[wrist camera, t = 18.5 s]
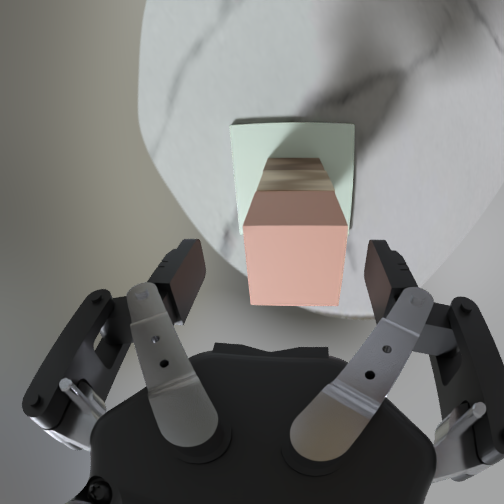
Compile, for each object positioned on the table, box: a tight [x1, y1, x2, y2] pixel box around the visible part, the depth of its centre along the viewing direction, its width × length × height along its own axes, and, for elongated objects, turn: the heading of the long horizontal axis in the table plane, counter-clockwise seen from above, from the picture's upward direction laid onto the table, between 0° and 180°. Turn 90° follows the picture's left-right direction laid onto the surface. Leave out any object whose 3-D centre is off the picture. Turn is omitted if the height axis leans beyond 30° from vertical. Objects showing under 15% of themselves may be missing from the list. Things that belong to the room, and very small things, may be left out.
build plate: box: [229, 122, 355, 236], centre depth 27 cm, size 12×12×1 cm
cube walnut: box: [263, 158, 325, 171], centre depth 24 cm, size 5×5×5 cm
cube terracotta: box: [243, 191, 348, 306], centre depth 16 cm, size 5×5×5 cm
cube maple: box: [256, 170, 335, 192], centre depth 20 cm, size 5×5×5 cm
